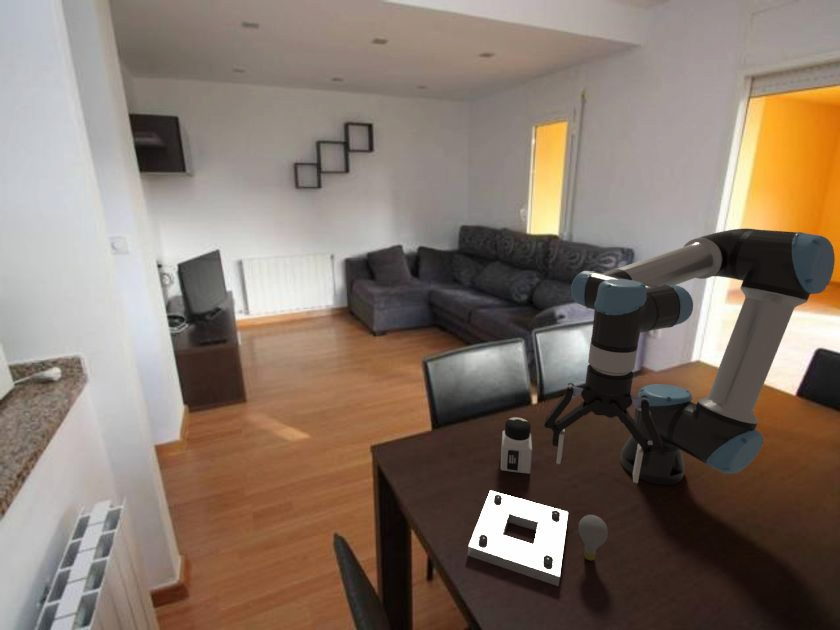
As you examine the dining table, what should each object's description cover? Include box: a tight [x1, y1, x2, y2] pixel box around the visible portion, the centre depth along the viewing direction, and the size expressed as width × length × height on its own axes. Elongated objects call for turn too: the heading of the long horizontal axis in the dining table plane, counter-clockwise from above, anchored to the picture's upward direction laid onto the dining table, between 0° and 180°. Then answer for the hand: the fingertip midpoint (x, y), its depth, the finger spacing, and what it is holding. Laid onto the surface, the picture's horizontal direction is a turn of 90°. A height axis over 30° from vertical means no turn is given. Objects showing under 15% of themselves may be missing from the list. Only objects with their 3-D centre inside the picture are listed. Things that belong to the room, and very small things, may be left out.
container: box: [500, 417, 533, 474], centre depth 115 cm, size 8×8×13 cm
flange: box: [467, 490, 569, 587], centre depth 92 cm, size 18×18×3 cm
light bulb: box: [577, 514, 609, 561], centre depth 86 cm, size 6×6×10 cm
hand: (595, 469), depth 82 cm, fingers open, 13 cm apart
